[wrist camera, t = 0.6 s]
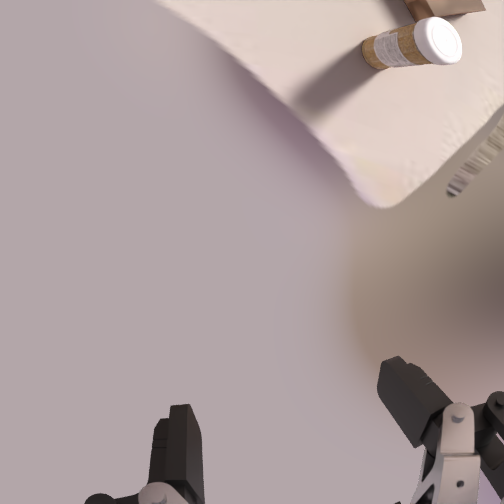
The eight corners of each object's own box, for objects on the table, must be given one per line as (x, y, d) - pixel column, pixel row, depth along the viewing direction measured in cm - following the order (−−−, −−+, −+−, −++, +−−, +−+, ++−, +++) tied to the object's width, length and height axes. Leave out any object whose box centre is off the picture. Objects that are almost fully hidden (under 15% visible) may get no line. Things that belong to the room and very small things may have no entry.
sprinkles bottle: (389, 38, 25) (459, 22, 13) (394, 71, 27) (467, 68, 15) (357, 35, 25) (420, 10, 13) (362, 69, 27) (430, 60, 15)
